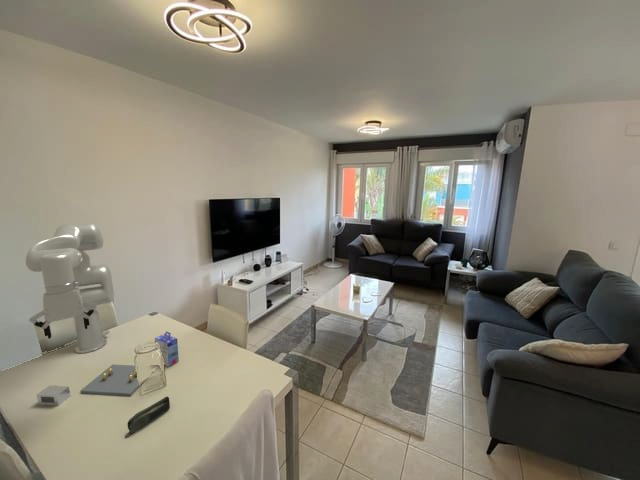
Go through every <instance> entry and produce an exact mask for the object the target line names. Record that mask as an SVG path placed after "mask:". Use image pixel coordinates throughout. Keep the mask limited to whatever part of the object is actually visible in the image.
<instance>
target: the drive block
mask: <svg viewBox="0 0 640 480" xmlns="http://www.w3.org/2000/svg"><path fill="white" fill-rule="evenodd" d="M70 397H71V392H70V386H66V385H65V386H62V385H48V386H46V387H45V388H43V390H41V391H40V392H38V393H37V394H36V398H37V402H38V405H40V406H41V405H44V406H57V407H58V406H59V407H60V406H61V405H62V404H63V403H64V402H66V401H67V400H68V399H69V398H70Z"/></svg>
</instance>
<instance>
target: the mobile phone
mask: <svg viewBox="0 0 640 480" xmlns="http://www.w3.org/2000/svg"><path fill="white" fill-rule="evenodd" d="M170 402H171V401H170V397H169V396H165V397H163V398H162V399H160V400H158V401H157V402H155V403H153V404H151V405H149V406H148V407H146V408H144V409H143V410H140V411H138V412H137V413H135V414H134V415H133V416H132V417H131V418H129V420H128V421H127V430H128V431H129V432H128V433H127V434H125V438H127V437H129V436H130V435H131V434H133V433H134V432H136V431H138V430H139V429H140V428H143V427H144V426H145V425H147V424H149V423H150V422H152V421H154V420H156V419H157V418H158V417H160V416H161V415H163V414H165V413H167V412H168V410H169V409H170V407H171V405H170V404H171V403H170Z"/></svg>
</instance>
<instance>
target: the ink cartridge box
mask: <svg viewBox="0 0 640 480" xmlns="http://www.w3.org/2000/svg"><path fill="white" fill-rule="evenodd" d="M171 334H172V333H171V332H169V331H167V330H166V331H165V333H163V334H160V335H159V336H156V337H155V338H154V344H155V343H156V342H158V343H159V344H160V349H161V352H162V356H163V359H164V363H165V366H166V367H168V368H169V367H171V366H172V365H174V364H177V363H178V362H179V361H180V360H179V359H180V358H179V346H178V345H179V344H178V338H177V337H174V336H172V335H171Z"/></svg>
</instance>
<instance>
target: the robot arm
mask: <svg viewBox="0 0 640 480" xmlns="http://www.w3.org/2000/svg"><path fill="white" fill-rule="evenodd" d="M103 246H104V238H103V235H102V233H101V229H99V227H98V226H97V225H96V224H95V223H90V222H89V223H67V224H63V225H60V226H58V227H57V228H56V230H55V232H54V234H53V237H50V238H47V239H45V240H42V241H40V242H37V243H35V244H33V245H32V246H31V247H30V248H29V250H28V251H27V254H26V257H25V264H26V267H27V269H28V270H29V271H31V272H35V273H36V272H37V273H39V272H41V274H42V278H43V283H44V289H45V293H43V295H42V308H43V310H41V311H40V312H38V313H36V314H34V315H33V316H31V317H29V319H28V321H29V322H30V323H32V324H33V325H34V326H35V327H37V328H41V329H42V330H43V334H44V337H47V340H49V339H52V332H51V331H52V330H51V326H50V324H51V323H53V322H59V321H63V320H67V319H71V318H73V322H74V328H75V333H76V339H77V345H76V346H75V347H74V352H75V353H76V354H87V353H91V352H94V351H97V350H99V349H101V348H103V347H105V345H106V344H107V343H108V341H107V338H106V336H107V335H109V334H110V330H109V329H107V330H105V331H104V332H103V331H102V328H101V326H102V325H101V319H100V314H99V311H98V310H97V309H96V308H97V306H100V305H101V306H102V305H107V304H111V302H113V301H114V299H115V292H114V285H113V278H112V271H111V268H110V267H109V266H108V265H106V264H98V265H97V264H96V265H91V257H90V256H89V254H87V253H86V252H87V251H96V250H97V251H98V250H100V249H101V248H103ZM94 285H97V286H94ZM99 285H100V286H99ZM87 286H91V287H87ZM79 287H83V288H80V289H79ZM84 287H86V288H84ZM43 316H44V322H43V321H41V320H39V319H40V318H41V317H43Z"/></svg>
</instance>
